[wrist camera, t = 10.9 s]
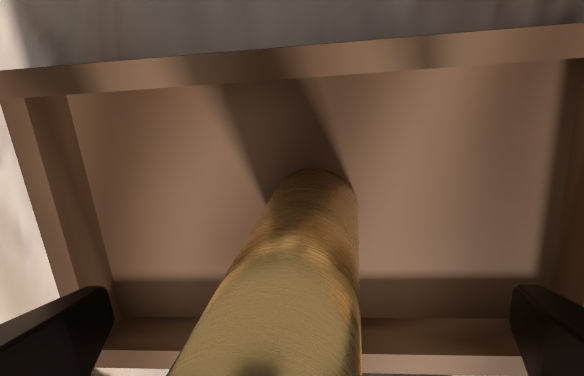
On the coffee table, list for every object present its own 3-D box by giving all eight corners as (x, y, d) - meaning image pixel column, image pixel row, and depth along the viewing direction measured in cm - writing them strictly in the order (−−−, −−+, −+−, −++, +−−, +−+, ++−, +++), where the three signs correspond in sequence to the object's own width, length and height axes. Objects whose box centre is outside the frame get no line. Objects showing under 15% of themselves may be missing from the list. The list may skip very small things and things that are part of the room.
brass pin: (357, 166, 13) (361, 362, 5) (359, 249, 14) (365, 536, 6) (267, 168, 14) (128, 352, 5) (274, 249, 15) (166, 514, 6)
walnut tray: (607, 20, 12) (674, 14, 9) (557, 326, 15) (597, 378, 13) (48, 66, 14) (-10, 71, 12) (116, 323, 17) (81, 367, 15)
